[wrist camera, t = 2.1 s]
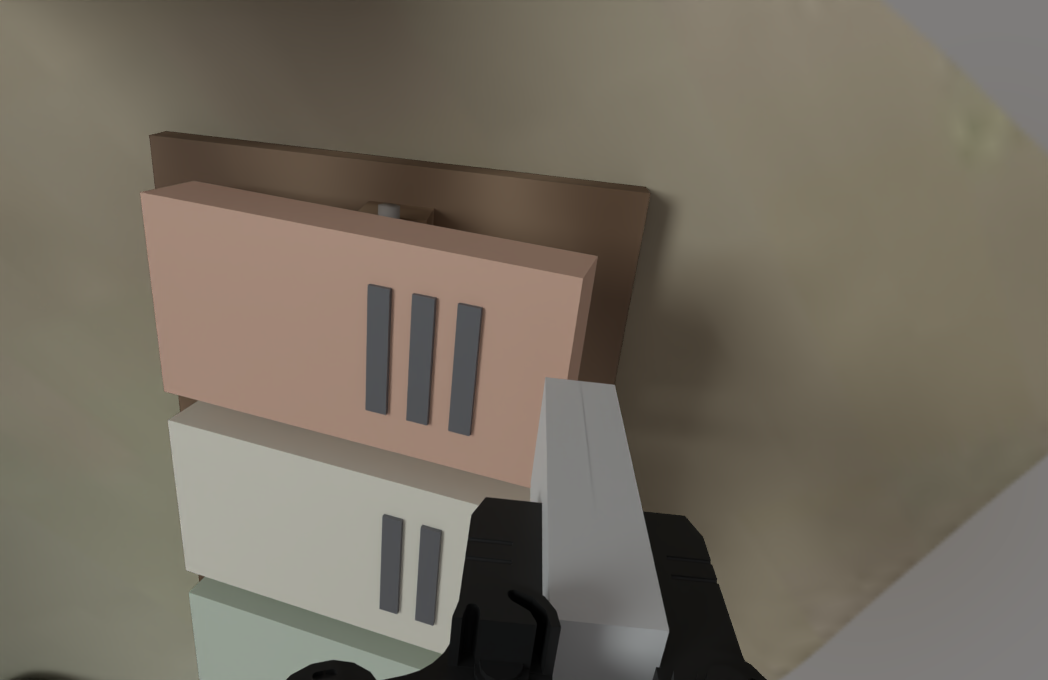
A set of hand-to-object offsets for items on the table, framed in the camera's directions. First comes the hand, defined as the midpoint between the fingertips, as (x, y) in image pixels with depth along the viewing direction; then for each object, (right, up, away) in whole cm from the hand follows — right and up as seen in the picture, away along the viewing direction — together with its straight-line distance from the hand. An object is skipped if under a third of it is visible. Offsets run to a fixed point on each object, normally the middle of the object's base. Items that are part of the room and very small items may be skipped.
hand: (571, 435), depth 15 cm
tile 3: (-5, +3, +5) cm, 8 cm away
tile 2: (-6, -3, +8) cm, 10 cm away
